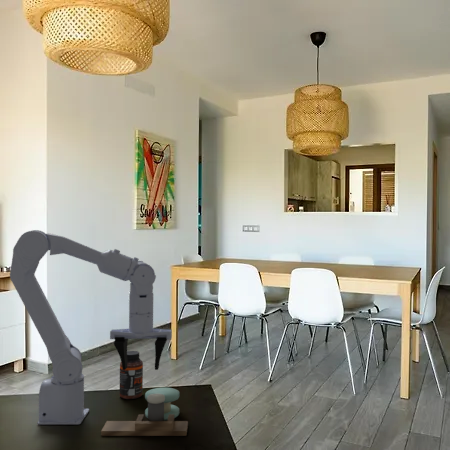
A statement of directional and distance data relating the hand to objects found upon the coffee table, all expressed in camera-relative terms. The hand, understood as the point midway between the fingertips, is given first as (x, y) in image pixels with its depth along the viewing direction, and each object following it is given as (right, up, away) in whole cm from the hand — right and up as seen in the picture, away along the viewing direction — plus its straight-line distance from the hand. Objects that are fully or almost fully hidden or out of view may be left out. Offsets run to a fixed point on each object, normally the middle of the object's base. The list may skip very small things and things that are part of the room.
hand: (140, 368), depth 113 cm
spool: (+6, -10, -2) cm, 12 cm away
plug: (+5, -9, -10) cm, 15 cm away
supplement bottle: (-4, -10, +9) cm, 14 cm away
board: (+3, -10, -11) cm, 15 cm away
